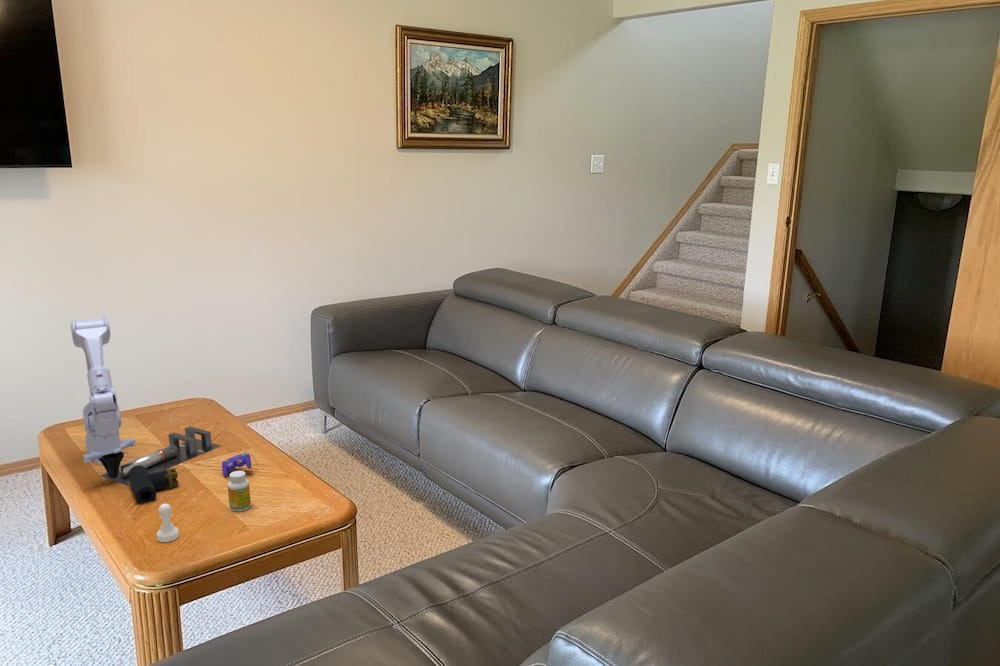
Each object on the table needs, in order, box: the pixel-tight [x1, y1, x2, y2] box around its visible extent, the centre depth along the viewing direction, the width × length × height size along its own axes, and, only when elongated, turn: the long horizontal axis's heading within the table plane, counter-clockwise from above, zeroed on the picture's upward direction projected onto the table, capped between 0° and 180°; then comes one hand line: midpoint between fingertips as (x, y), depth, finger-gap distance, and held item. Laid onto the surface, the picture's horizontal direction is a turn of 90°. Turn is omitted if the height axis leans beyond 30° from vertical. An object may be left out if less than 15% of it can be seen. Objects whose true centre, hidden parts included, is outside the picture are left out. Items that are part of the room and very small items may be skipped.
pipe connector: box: [128, 466, 179, 504], centre depth 208 cm, size 12×5×15 cm
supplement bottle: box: [227, 470, 252, 512], centre depth 198 cm, size 5×5×10 cm
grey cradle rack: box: [99, 426, 222, 487], centre depth 227 cm, size 13×33×6 cm, turn 151°
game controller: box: [221, 452, 258, 481], centre depth 219 cm, size 10×8×10 cm
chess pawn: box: [156, 503, 180, 543], centre depth 183 cm, size 5×5×9 cm
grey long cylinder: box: [118, 444, 179, 478], centre depth 223 cm, size 18×4×4 cm, turn 151°
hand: (113, 477), depth 213 cm, fingers closed
